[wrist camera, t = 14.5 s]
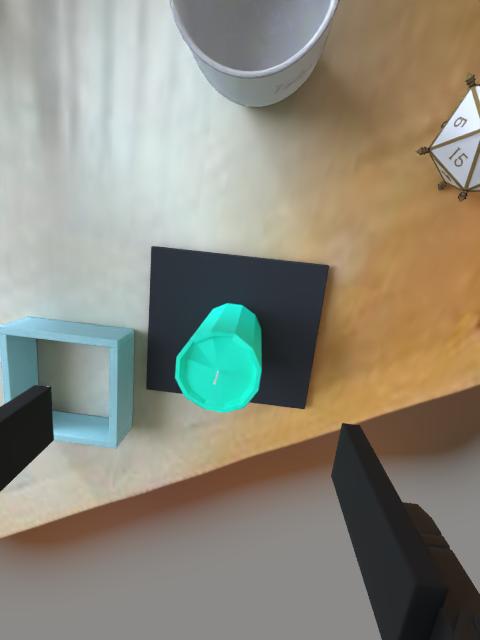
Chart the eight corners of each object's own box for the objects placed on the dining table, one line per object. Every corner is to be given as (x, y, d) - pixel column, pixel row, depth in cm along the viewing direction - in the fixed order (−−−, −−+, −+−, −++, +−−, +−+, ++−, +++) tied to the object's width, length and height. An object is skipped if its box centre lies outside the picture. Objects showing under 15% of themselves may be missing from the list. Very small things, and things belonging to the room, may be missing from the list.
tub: (33, 413, 36) (6, 434, 32) (28, 316, 33) (-3, 325, 29) (132, 427, 35) (116, 449, 32) (134, 329, 33) (117, 340, 29)
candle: (273, 338, 31) (281, 393, 20) (226, 371, 32) (207, 442, 21) (236, 290, 30) (221, 318, 19) (189, 326, 31) (148, 373, 20)
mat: (148, 386, 34) (146, 389, 33) (154, 246, 31) (151, 246, 30) (303, 405, 34) (304, 409, 33) (327, 265, 30) (329, 265, 29)
